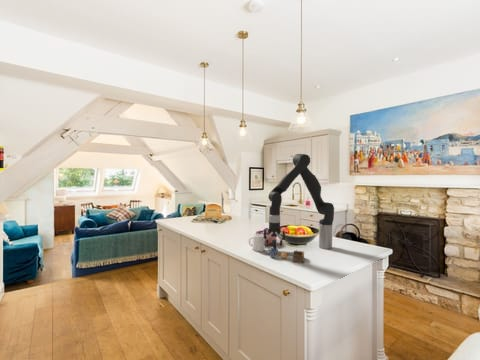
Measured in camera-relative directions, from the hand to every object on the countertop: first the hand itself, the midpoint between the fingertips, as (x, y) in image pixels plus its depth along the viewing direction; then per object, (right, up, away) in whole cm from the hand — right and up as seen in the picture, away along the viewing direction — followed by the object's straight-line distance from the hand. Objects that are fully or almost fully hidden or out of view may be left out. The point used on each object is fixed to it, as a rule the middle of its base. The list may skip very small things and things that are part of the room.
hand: (274, 245), depth 172 cm
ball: (+5, -4, -10) cm, 12 cm away
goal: (+14, -6, -12) cm, 19 cm away
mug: (-12, -6, +9) cm, 16 cm away
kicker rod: (-1, -5, -4) cm, 6 cm away
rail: (+5, -6, -1) cm, 8 cm away
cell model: (-3, -6, +27) cm, 27 cm away
